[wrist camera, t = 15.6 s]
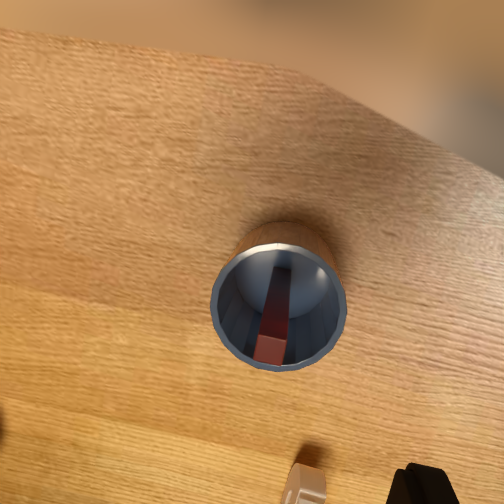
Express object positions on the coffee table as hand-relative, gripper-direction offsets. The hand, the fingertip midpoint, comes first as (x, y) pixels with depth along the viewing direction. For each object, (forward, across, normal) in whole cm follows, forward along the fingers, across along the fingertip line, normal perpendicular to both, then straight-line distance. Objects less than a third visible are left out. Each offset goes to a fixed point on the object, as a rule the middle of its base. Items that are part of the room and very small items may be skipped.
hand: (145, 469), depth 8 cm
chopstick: (+28, -2, +4) cm, 29 cm away
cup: (+29, -2, +4) cm, 29 cm away
